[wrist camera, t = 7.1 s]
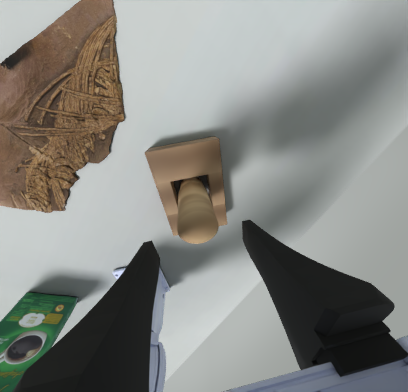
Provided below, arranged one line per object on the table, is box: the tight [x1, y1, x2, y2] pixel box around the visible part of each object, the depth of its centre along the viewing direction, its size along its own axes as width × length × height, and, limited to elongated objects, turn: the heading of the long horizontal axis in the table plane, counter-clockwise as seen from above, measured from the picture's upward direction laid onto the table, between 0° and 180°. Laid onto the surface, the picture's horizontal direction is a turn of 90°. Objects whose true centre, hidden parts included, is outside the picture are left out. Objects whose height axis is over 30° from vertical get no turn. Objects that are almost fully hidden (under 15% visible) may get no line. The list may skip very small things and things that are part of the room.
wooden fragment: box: [0, 0, 124, 213], centre depth 15 cm, size 26×11×1 cm, turn 133°
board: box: [145, 136, 227, 236], centre depth 19 cm, size 12×8×2 cm, turn 9°
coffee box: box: [0, 292, 78, 392], centre depth 22 cm, size 8×3×13 cm, turn 63°
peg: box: [177, 176, 219, 244], centre depth 16 cm, size 4×4×9 cm
